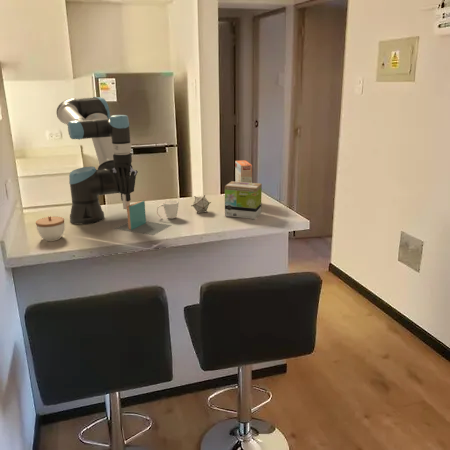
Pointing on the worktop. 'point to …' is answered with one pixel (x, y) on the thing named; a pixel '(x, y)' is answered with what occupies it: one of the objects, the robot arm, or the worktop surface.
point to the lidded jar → (50, 228)
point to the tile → (136, 215)
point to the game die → (200, 204)
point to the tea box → (243, 199)
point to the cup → (170, 208)
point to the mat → (145, 228)
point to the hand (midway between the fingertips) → (126, 208)
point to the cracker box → (243, 171)
